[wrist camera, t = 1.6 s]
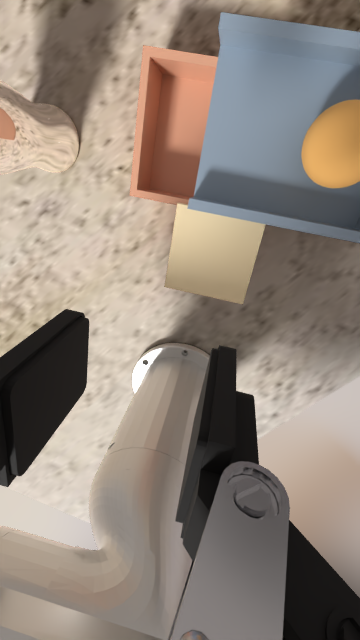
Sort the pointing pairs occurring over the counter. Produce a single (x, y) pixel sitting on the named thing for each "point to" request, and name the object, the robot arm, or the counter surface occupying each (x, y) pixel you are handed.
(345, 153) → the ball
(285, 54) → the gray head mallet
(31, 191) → the counter surface
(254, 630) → the robot arm
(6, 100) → the beer glass
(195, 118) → the shallow terracotta crate
